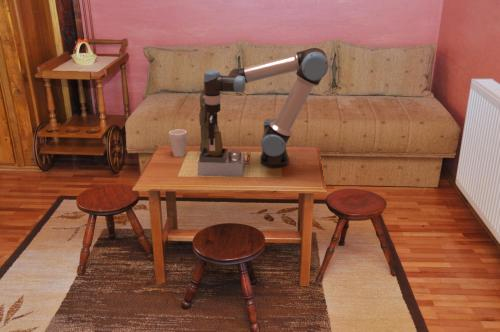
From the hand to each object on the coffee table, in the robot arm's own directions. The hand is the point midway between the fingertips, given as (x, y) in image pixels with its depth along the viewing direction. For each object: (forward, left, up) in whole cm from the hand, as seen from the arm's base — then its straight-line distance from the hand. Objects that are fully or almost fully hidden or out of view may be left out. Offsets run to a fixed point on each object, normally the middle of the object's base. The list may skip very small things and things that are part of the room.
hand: (213, 147), depth 259 cm
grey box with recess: (-4, -2, -12) cm, 13 cm away
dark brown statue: (+6, -21, -13) cm, 25 cm away
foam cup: (+22, -19, -13) cm, 32 cm away
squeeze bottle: (-1, 0, -4) cm, 4 cm away
